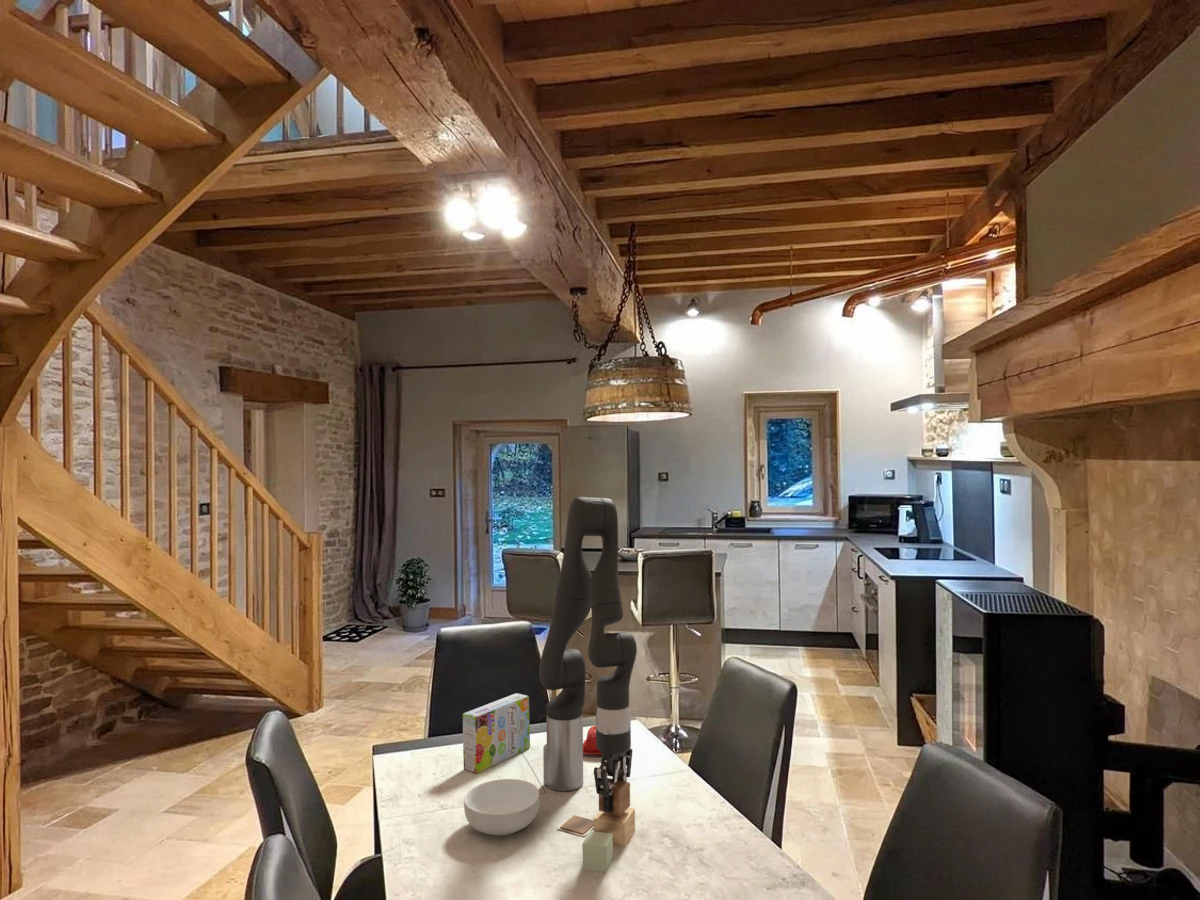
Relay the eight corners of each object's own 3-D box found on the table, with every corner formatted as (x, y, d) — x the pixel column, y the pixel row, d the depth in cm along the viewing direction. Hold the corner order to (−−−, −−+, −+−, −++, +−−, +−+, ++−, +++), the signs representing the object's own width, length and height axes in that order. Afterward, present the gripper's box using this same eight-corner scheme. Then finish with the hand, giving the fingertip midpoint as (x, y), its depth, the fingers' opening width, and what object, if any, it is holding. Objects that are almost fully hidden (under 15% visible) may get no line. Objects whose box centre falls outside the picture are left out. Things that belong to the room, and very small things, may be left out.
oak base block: (593, 842, 147) (593, 818, 147) (604, 826, 154) (604, 803, 154) (625, 847, 145) (624, 823, 145) (634, 831, 151) (634, 808, 152)
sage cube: (582, 869, 137) (582, 843, 137) (589, 855, 142) (588, 830, 142) (607, 872, 136) (607, 846, 136) (613, 858, 141) (612, 833, 141)
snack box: (516, 744, 202) (516, 692, 203) (530, 748, 199) (530, 695, 199) (462, 769, 185) (461, 712, 185) (476, 774, 181) (476, 716, 182)
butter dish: (585, 742, 203) (584, 713, 204) (624, 743, 202) (623, 714, 202) (579, 758, 192) (579, 727, 192) (620, 759, 191) (620, 728, 191)
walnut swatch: (557, 829, 152) (557, 827, 152) (573, 816, 158) (573, 814, 158) (584, 836, 149) (584, 834, 149) (599, 823, 155) (599, 820, 155)
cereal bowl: (456, 817, 158) (456, 786, 159) (526, 803, 165) (526, 773, 165) (473, 854, 143) (473, 819, 143) (550, 836, 149) (549, 803, 150)
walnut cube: (598, 810, 149) (598, 786, 149) (609, 801, 153) (609, 777, 153) (619, 815, 146) (619, 791, 146) (630, 805, 151) (629, 782, 151)
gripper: (613, 713, 158) (614, 789, 158) (581, 734, 146) (582, 816, 145) (643, 718, 155) (644, 796, 154) (613, 740, 142) (614, 824, 142)
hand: (614, 805), depth 150 cm, fingers closed on walnut cube, 5 cm apart
